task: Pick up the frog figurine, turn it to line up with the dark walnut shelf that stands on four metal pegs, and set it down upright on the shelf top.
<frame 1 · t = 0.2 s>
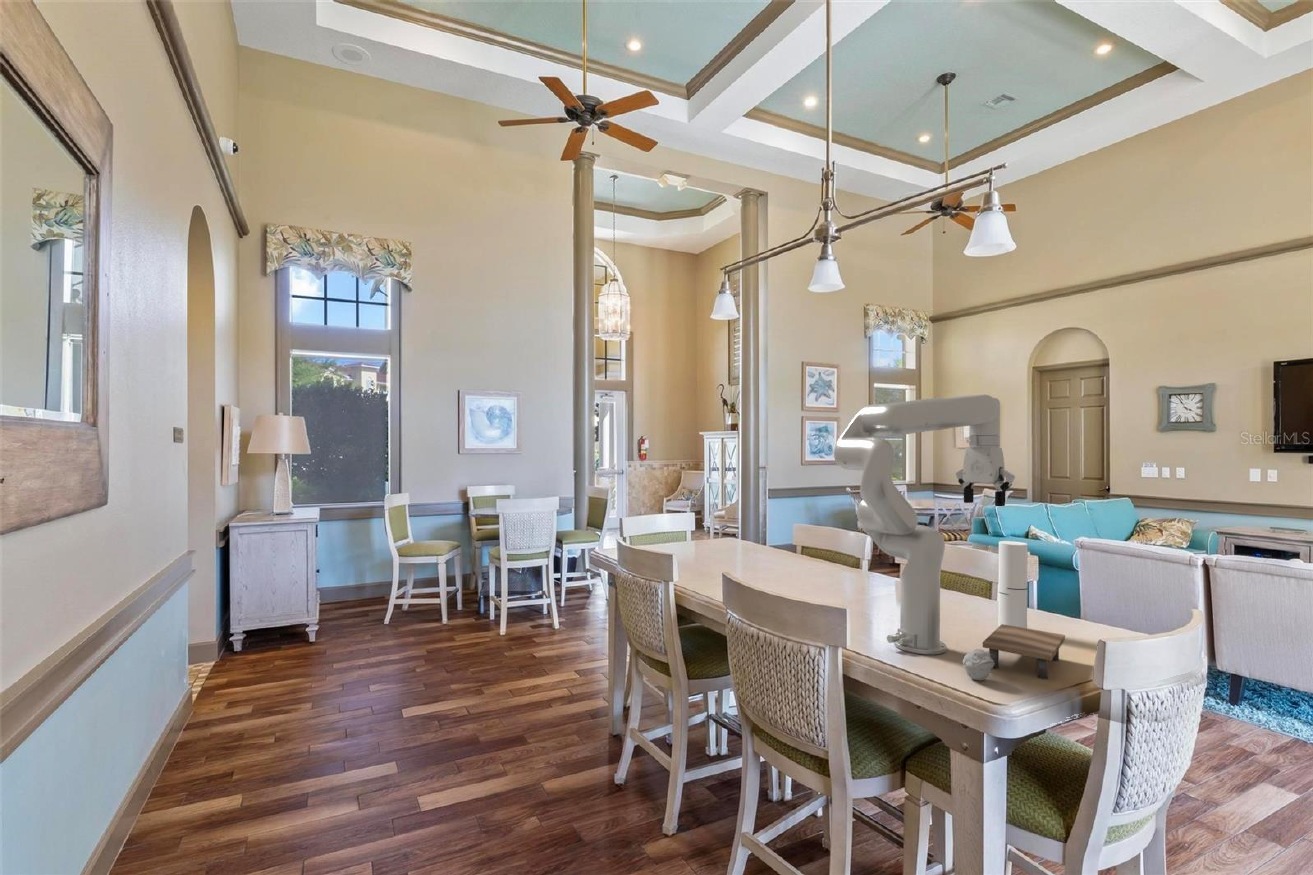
hand: (983, 504, 175), 36 cm above the table, tool pointing down, fingers open, 9 cm apart
cylindrical container: (1012, 631, 180), on the table
walnut shelf: (1024, 663, 154), on the table
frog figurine: (978, 681, 143), on the table
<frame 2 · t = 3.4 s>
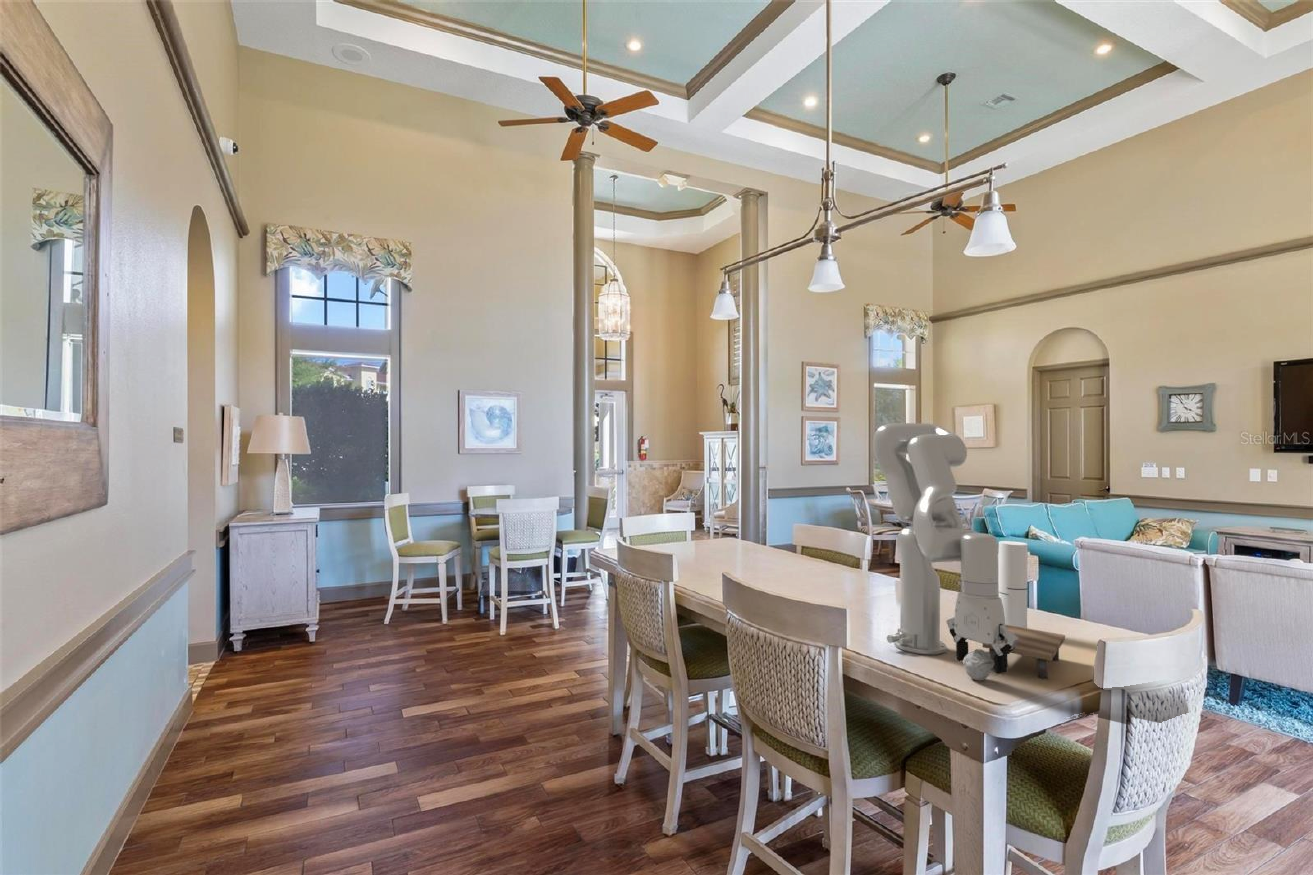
hand: (981, 666, 142), 3 cm above the table, tool pointing down, fingers open, 9 cm apart
nothing on the table moved.
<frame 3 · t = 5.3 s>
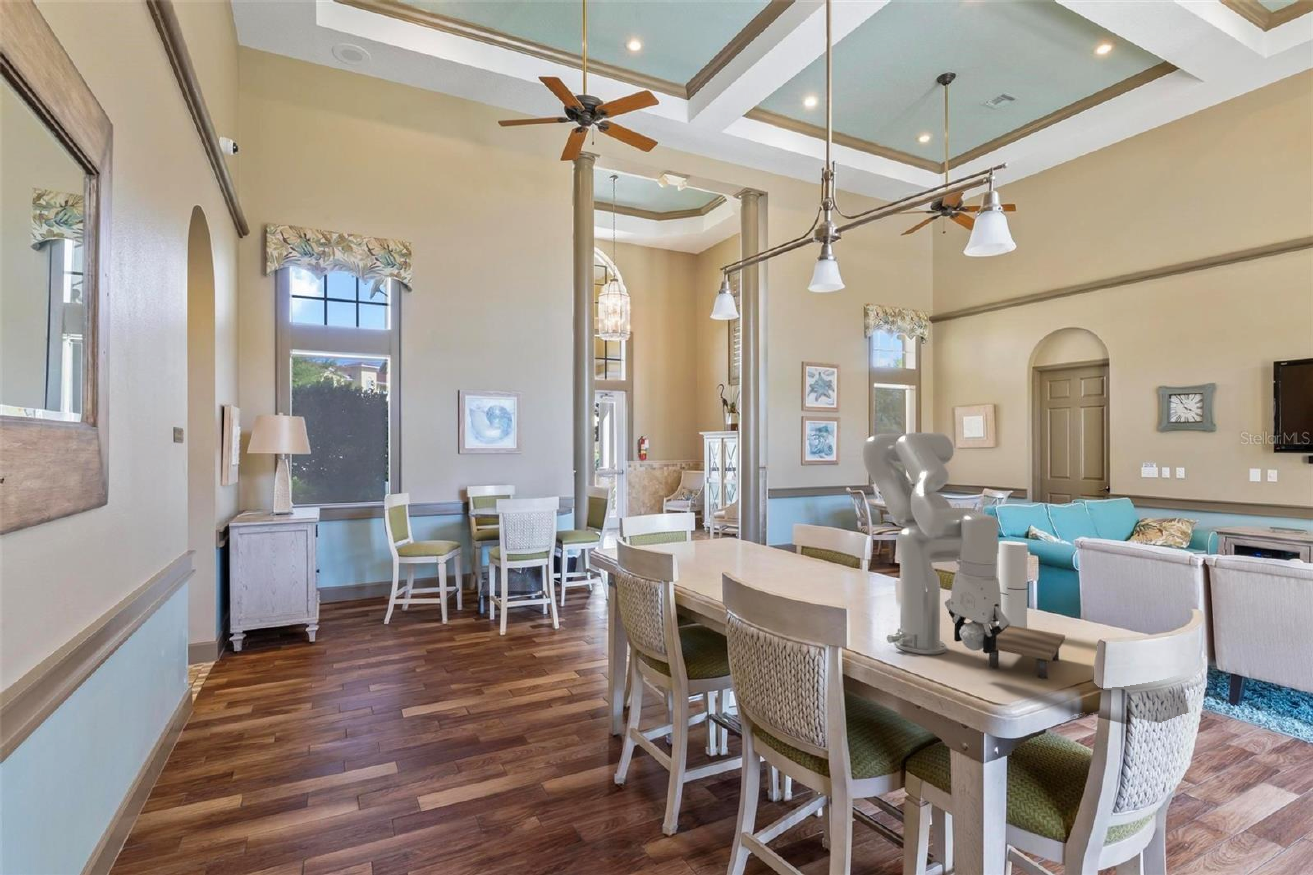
hand: (974, 645, 144), 7 cm above the table, tool pointing down, fingers closed on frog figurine, 6 cm apart
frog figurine: (974, 651, 144), point 6 cm above the table, touching gripper
everything else where it was.
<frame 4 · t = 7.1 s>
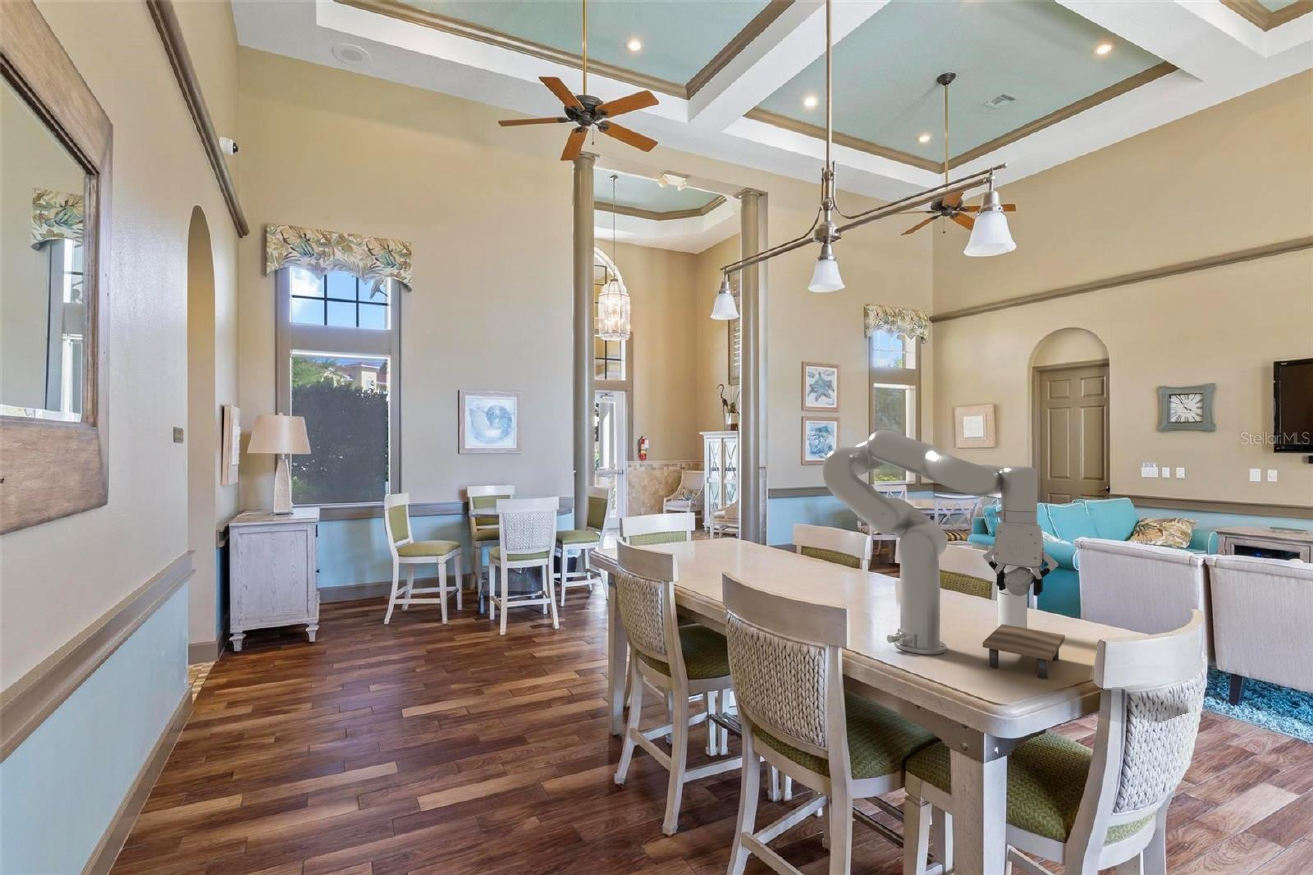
hand: (1019, 591, 152), 18 cm above the table, tool pointing down, fingers closed on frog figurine, 6 cm apart
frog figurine: (1019, 596, 152), point 17 cm above the table, touching gripper
everything else where it was.
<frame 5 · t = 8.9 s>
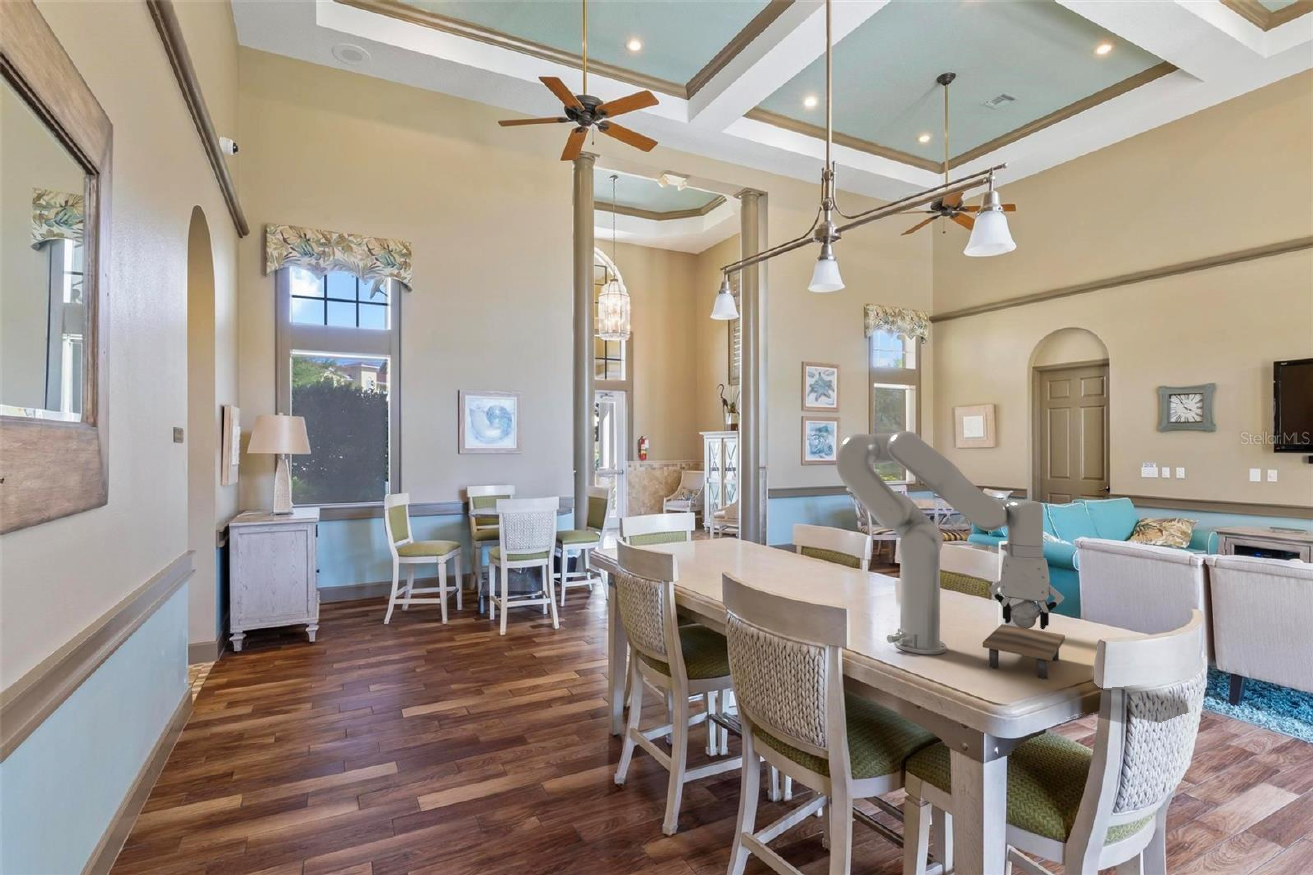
hand: (1025, 624, 154), 9 cm above the table, tool pointing down, fingers closed on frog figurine, 6 cm apart
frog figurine: (1025, 629, 154), point 8 cm above the table, touching gripper
everything else where it was.
when the fingers open (8 cm above the table, at t = 10.1 s): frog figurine drops 1 cm, resting on walnut shelf.
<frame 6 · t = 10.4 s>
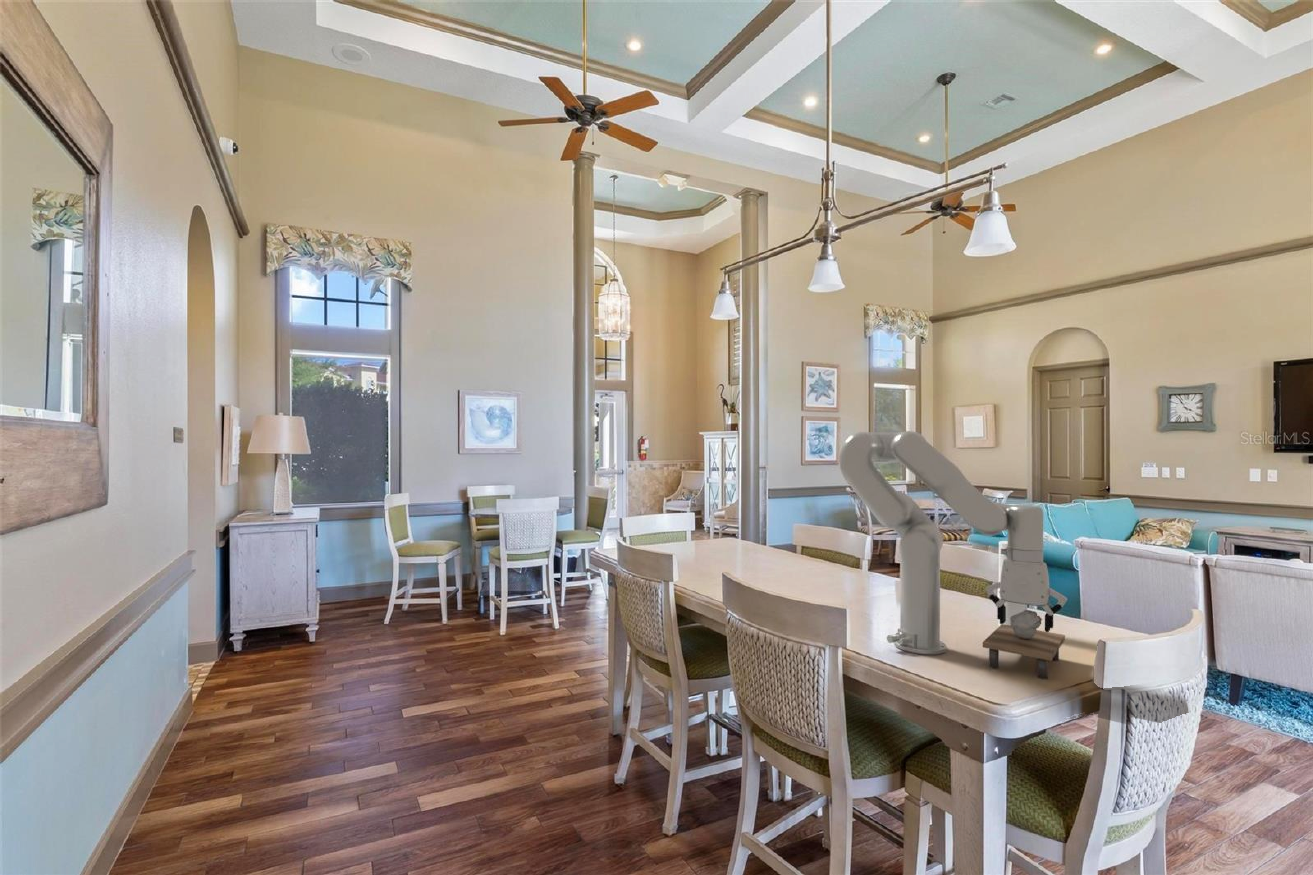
hand: (1024, 626, 154), 9 cm above the table, tool pointing down, fingers open, 9 cm apart
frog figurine: (1025, 639, 154), point 6 cm above the table, touching walnut shelf
everything else where it was.
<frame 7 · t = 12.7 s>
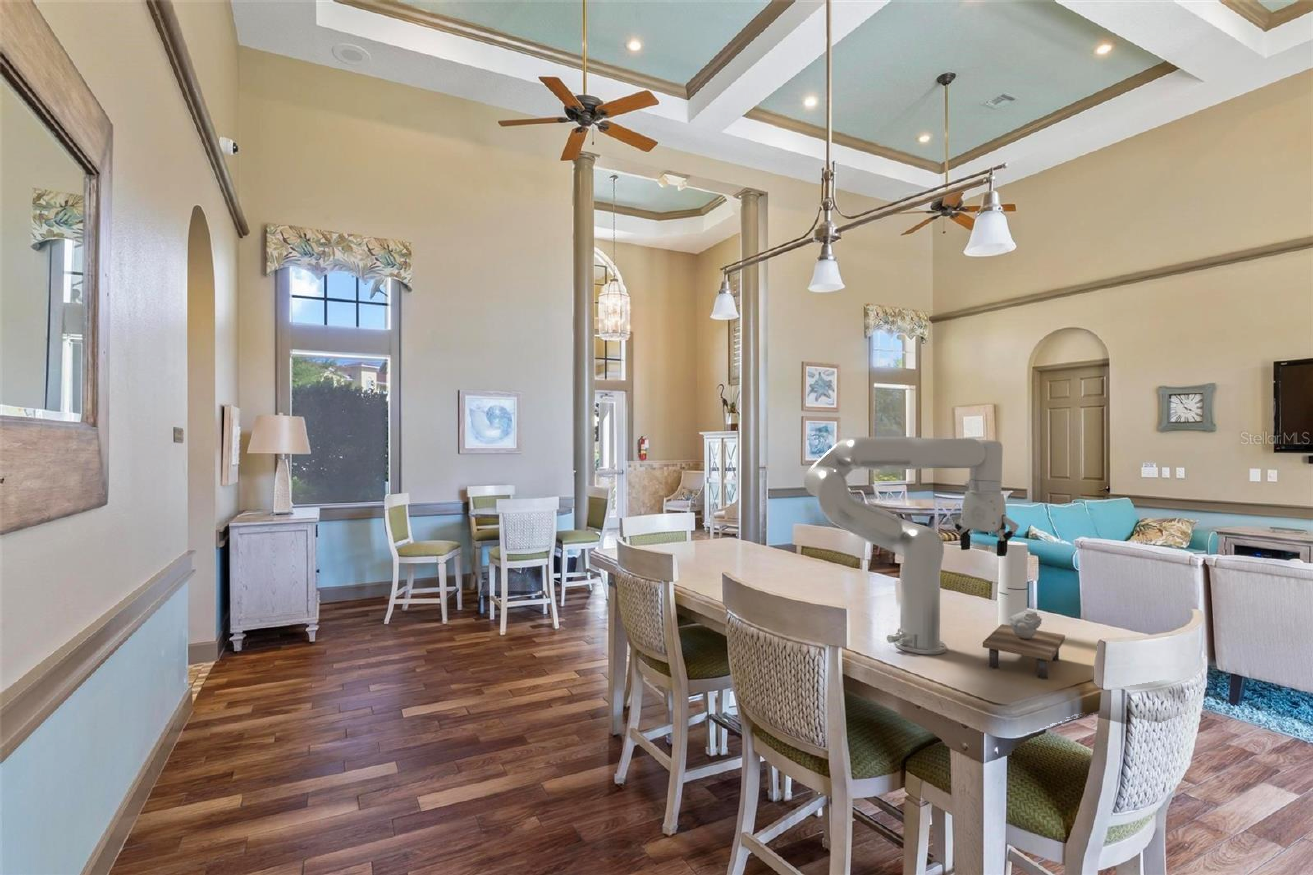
hand: (983, 552, 166), 25 cm above the table, tool pointing down, fingers open, 9 cm apart
nothing on the table moved.
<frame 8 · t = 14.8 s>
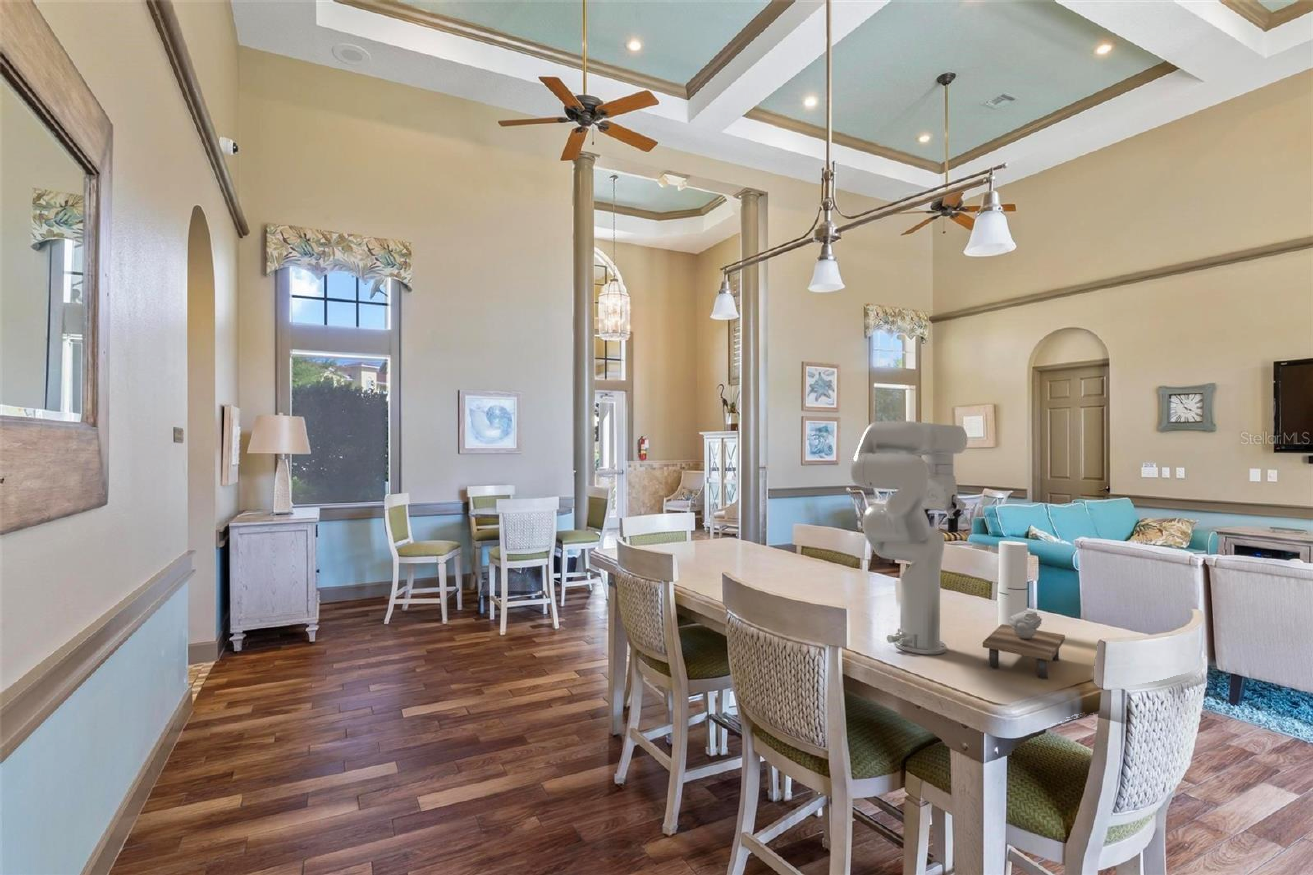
hand: (938, 530, 182), 28 cm above the table, tool pointing down, fingers open, 9 cm apart
nothing on the table moved.
at the end: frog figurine inside the target area on the walnut shelf (0.2 cm from its centre), point 5.8 cm above the walnut shelf's base; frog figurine tilted 0°; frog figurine touching walnut shelf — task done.
